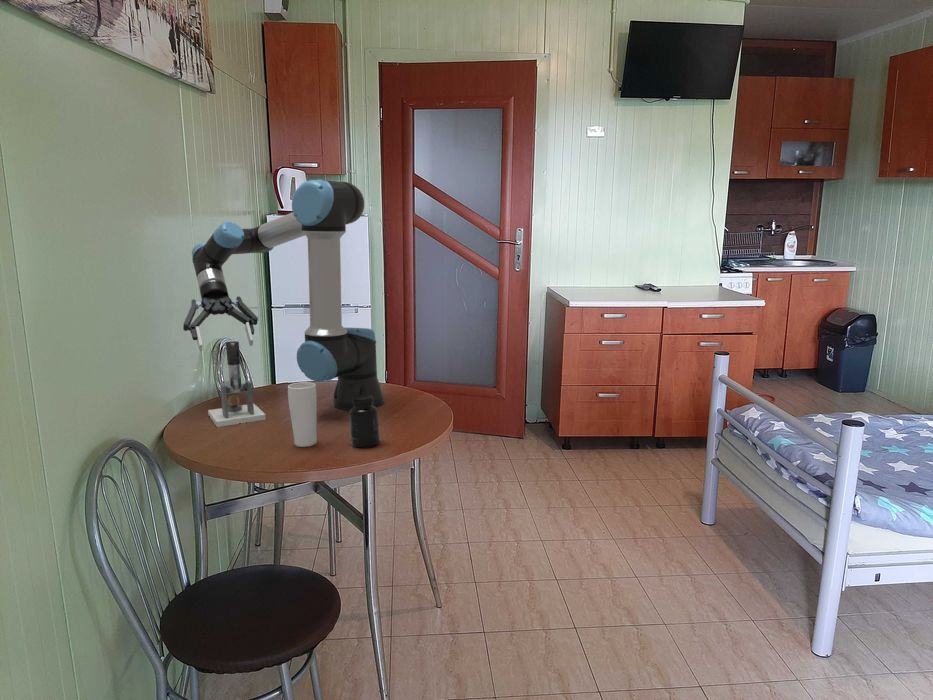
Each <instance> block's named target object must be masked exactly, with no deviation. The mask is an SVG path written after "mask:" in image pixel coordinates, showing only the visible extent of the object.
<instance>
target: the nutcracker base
mask: <svg viewBox="0 0 933 700" xmlns="http://www.w3.org/2000/svg"><path fill="white" fill-rule="evenodd" d="M245 383H246V387H247V391H245V392H246V396H245V397H246V404H243V405H242V404H239V403H240V399H239V396H237V395H230V396H229V397H228V396H227V395H228V394H227V392H226V386H225V383H221V382H220V383H219V387H220V388H219V389H220V397H221V398H220V399H221V408H214V409H208V410H207V415H208V416H210V417H209V419H210V420H211V421H212V422H213V424H214V425H215V426H216V427H217V428H221V427H226V426H227V427H228V426H233V425H239V423H241V424H246V422H247V423H252V422H253V423H254V422H258V421H259V422H260V421H266V419H267V418H266V413H265V412H263V410H261V409H260V408H259V407H258V405H256V404H255V403H254V397H253V385H252V384H253V383H252V382H251V381H250V380H249V379H246V380H244V384H245Z"/></svg>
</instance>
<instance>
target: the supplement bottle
mask: <svg viewBox="0 0 933 700" xmlns="http://www.w3.org/2000/svg"><path fill="white" fill-rule="evenodd" d="M372 404H373V397H372V396H371V395H357V396H354V397H353V406H354V407H353V408H352V409H351V410H350V411H349V421H350V422H349V425H350V426H349V427H350V437H351V439H350V440H351V445H352V446H353V447H355V448H358V449H367V448H373V447H376V446H377V445H379V444H380V428H379V425H380V424H379V411H378V409H377V407H374V406H373V405H372Z"/></svg>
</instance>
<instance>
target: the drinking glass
mask: <svg viewBox="0 0 933 700" xmlns="http://www.w3.org/2000/svg"><path fill="white" fill-rule="evenodd" d="M317 397H318V394H317V384H316V383H314V382H312V381H311V382H310V381H301V382H295V383H291V384H288V386H287V399H288V400H287V401H288V408H289V413H290V420H291V421H290V422H291V428H292V432H293V439H294V440H293V443H294V445H295V447H298V448H308V447H312V446H314V445H315V444H317V420H318V419H317V414H318V411H317V410H318V398H317Z"/></svg>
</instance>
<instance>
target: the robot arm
mask: <svg viewBox="0 0 933 700" xmlns="http://www.w3.org/2000/svg"><path fill="white" fill-rule="evenodd" d="M364 198H365V197H364V195H363V194H362V192H361V190H360V189H359V187H357V186H356V185H354V184H353V183H350V182H348V181H336V180H326V179H312V180H311V179H310V180H306V181H304V182H303V183H301V184H300V185H299V186H298V188H297V189H295V191H294V193H293V195H292V199H291V210H292V212H290V213H288V214H285V215H283V216H280V217H277V218H275V219H273V220H269V221H267V222H265V223H263V224H261V225H260V224H259V225H257V226H255V227H252V228H242V227H241V226H239V225H238V224H237V223H235V222H231V221H228V220H227V221H223V222H222V223H220V225H219V226H218V227H216V229H215V230H214V231H213V233H212V235H211V236H210V237H209V239H208V240H207V241H206V242H205V241H204V242H200V243H199V244H197V245H195V246H194V247H193V248H192V250H191V256H192V264H193V268H194V271H195V275H196V279H197V285H198V289H199V295H200V299H201V301H199V300H198V301H197V300H196V299H195V298H194V299H191V301H190V303H191V305H190V309H189V310H188V313H187V316H185V319H184V322H183V331H185V332H187V331H190V334H191V337H192V338H191V339H192V340H193V341H197V346H198V351H199V352H202V351H203V341H202V337H201V331H200V326H201V325H202V324H203V322H204V321H205V320H206V318H208V317H209V316H210V315H212V316H216V315H224V314H226V315H228V316H231V317H232V318H234V319H236V320H237V321H238V322H240V323H242V325H245V326H244V329H245V330H244V331H245V332H246V337H247V340H248V341H247V342H248V345H249V346H250V347H251V346H253V343H254V339H253V336H254V334H255V327H254V326H256V325H258V321H259V317H258V316H257V315H256V314H255V313H254V312H253V311H252V309H250V308H249V307H248V306H247V304H245V303H244V302H243V300H242V297H241V296H236V298H233V299H232V298H230V296H229V292H228V287H227V284H226V280H225V276H224V271H223V268H222V267H223V265H224V264H225V263H226V262H227V261H228V260H229V258H230V257H231V256H232V255H243V254H244V255H245V254H264V253H269V252H271V251H272V250H273V249H274V248H275V247H277V246H280V245H283V244H286V243H288V242H290V241H294V240H296V239H300V238H302V237H306V238H307V257H308V258H307V260H308V267H307V268H308V293H309V295H308V296H309V297H308V298H309V327H308V328H307V329H306V330H305V331H304V342H302V343H301V344H300V345H299V347H298V348H297V351H296V361H297V365H298V368H299V369H300V371H301V373H303V374H304V376H305V377H306V378H308V379H310V381H313V382H325V381H331V380H333V379H335V378H337V382H336V385H335V388H334V392H333V396H332V403H333V404H332V405H333V407H334V408H336V409H340V410H341V409H342V410H351V409H352V408H353V407H354V406H353V397H354V396H357V395H371V396H372V397H373V404H372V405H373V406H374V407H376V408H377V407H380V406H381V404H382V405H383V404H384V403H385V396H384V392H383V389H382V387H381V384H380V382H379V379H378V369H377V347H376V346H377V344H376V343H377V340H376V334H375V331H374V330H373V329H372V328H366V327H343V325H342V324H343V323H342V321H343V320H342V317H343V316H342V277H341V276H342V274H341V272H342V271H341V270H342V267H341V266H342V265H341V263H342V262H341V238H342V237H343V236H344V235H345V234H346V233H347V231H346V226H347V225H350V224H353V223H355V222H357V221H358V220H359V219H360V218H361V217H362V215H363V213H364V211H365V199H364ZM234 306H235V307H234ZM200 307H201V308H202V311H201V312H200V313H199V314H198V316H197V317H196V318H195V319H194V317H195V314H196V311H197V310H198V309H199V308H200ZM236 307H237V308H236Z"/></svg>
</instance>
